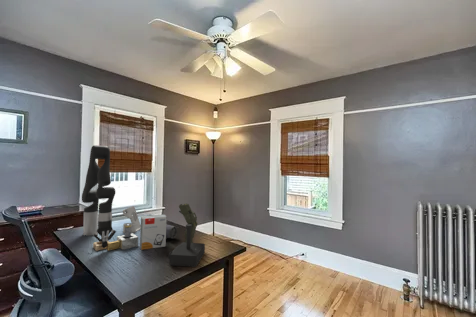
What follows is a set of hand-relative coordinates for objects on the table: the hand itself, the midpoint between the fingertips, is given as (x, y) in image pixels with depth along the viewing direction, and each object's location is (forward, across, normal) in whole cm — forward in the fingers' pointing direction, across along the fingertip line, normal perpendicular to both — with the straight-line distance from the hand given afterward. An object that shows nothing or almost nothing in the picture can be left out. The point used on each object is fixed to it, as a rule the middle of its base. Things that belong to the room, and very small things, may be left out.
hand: (104, 247), depth 141 cm
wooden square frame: (+2, -1, -8) cm, 8 cm away
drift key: (+2, -6, 0) cm, 7 cm away
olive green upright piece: (+3, -42, +29) cm, 51 cm away
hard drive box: (+3, -26, +12) cm, 28 cm away
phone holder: (+3, -30, -34) cm, 46 cm away
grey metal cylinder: (+2, -14, 0) cm, 14 cm away
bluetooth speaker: (+3, -38, -1) cm, 38 cm away
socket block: (+2, -14, 0) cm, 14 cm away
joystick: (+3, -32, +44) cm, 54 cm away
